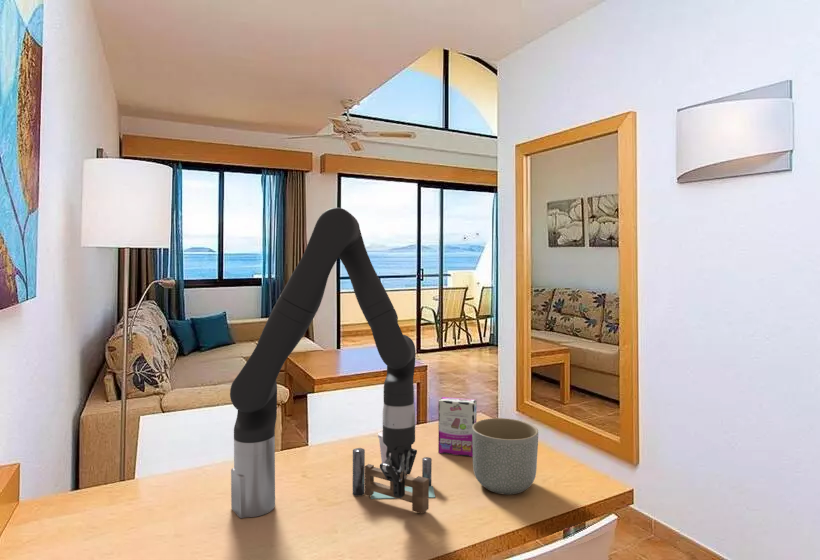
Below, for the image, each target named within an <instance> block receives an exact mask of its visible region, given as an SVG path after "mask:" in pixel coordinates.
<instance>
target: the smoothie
mask: <svg viewBox="0 0 820 560" xmlns="http://www.w3.org/2000/svg"><path fill="white" fill-rule="evenodd" d="M377 439H378V440H379V449H380V450H379V451H380V459H381V463H385V461H386V459H387V458H386V452H387V446H386V445H385V444H384V443H383V430H381V431H379V432H378V433H377Z"/></svg>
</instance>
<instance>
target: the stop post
mask: <svg viewBox="0 0 820 560" xmlns="http://www.w3.org/2000/svg"><path fill="white" fill-rule="evenodd" d="M421 459H422V460H421V462H422V465H421V466H422V470H421V471H422V473H421V474H422V475H421V477H424V478H428V479H429V486H432V467H433V466H432V464H433V463H432V461H433V459H432V458H431V457H429V456H427V457H426V456H424V457H423V458H421Z"/></svg>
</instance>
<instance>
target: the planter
mask: <svg viewBox="0 0 820 560" xmlns="http://www.w3.org/2000/svg"><path fill="white" fill-rule="evenodd" d="M472 448H473V457H472V468H473V473H474V476H475V478H476V480H477V482H478V483H479V484H480V485H481V486H482V487H484V488H485V489H487V490H488V491H490V492H492V493H496V494H499V495H517V494H520V493H522V492H523V493H524V491H526V490H527V489H529V488H530V487H532V485H533V483H534V481H535V479H536V475H537V469H538V468H537V467H538V466H537V465H538V464H537V463H538V449H539V430H538V428H537V427H536V426H535V425H533V424H531V423H529V422H526V421H522V420H519V419H514V418H506V417H505V418H504V417H498V418H497V417H496V418H485V419H480V420H478V421H476V423H474V424H473V426H472Z"/></svg>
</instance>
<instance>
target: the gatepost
mask: <svg viewBox="0 0 820 560" xmlns="http://www.w3.org/2000/svg"><path fill="white" fill-rule="evenodd" d="M365 451H366V450H365V448H361V447H356V448H353V449H352V495H353V496H355V497H362V496H364V495H365V466H366V465H365V464H366V463H365V462H366V458H365V456H366V455H365V454H366V453H365Z"/></svg>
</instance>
